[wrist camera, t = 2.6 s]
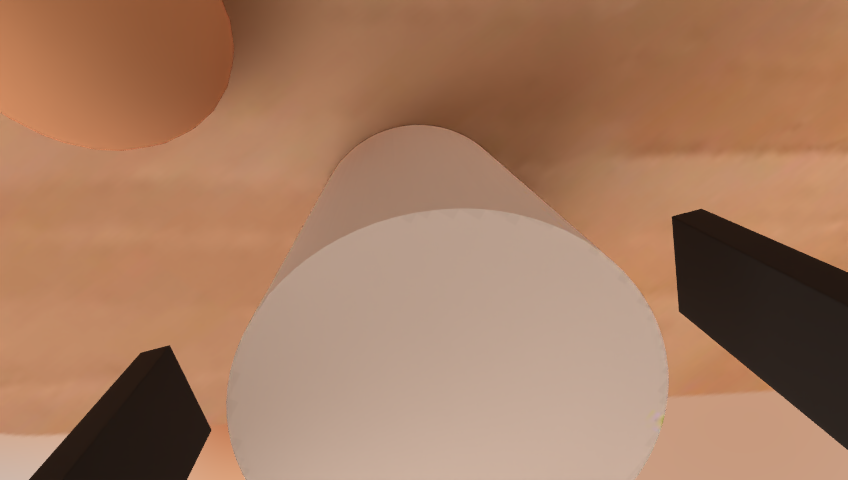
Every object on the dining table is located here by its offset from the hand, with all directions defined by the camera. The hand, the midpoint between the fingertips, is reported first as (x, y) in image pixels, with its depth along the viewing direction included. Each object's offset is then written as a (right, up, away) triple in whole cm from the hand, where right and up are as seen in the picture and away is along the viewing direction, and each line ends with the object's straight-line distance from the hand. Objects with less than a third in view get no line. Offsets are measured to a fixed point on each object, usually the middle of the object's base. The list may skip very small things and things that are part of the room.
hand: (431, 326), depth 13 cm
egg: (-9, +9, +5) cm, 14 cm away
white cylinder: (0, +3, +8) cm, 9 cm away
